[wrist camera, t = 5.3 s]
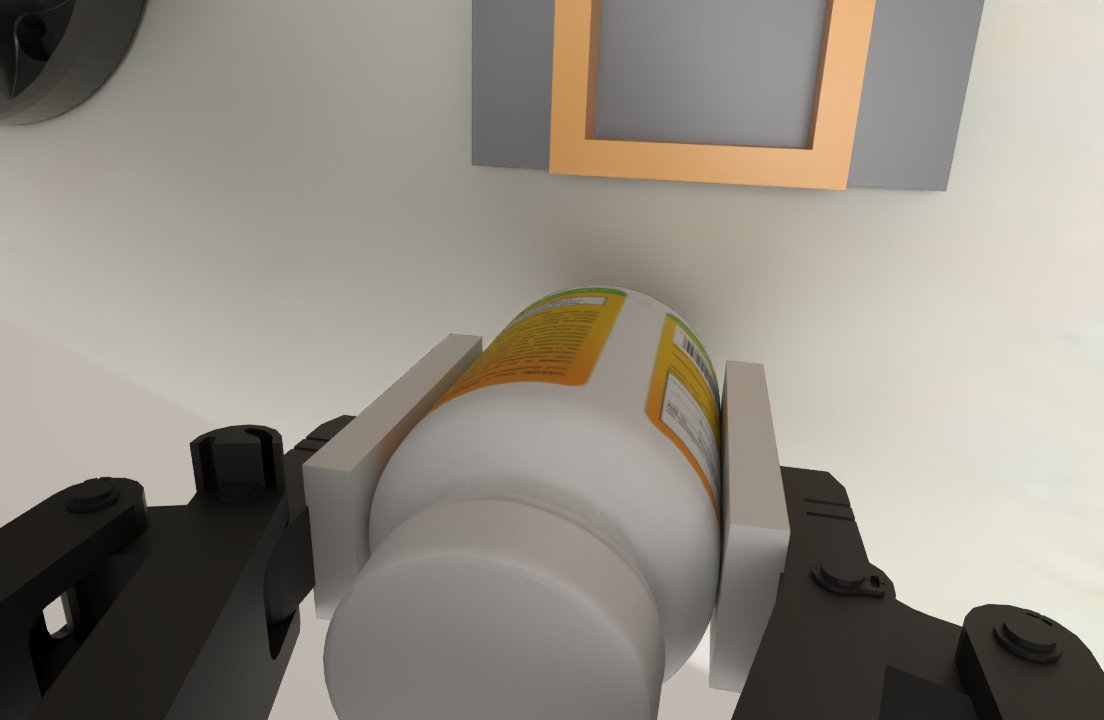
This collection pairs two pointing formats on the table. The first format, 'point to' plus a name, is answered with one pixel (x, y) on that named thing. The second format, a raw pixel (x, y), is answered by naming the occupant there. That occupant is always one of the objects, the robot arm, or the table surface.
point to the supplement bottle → (543, 527)
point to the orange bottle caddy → (724, 89)
